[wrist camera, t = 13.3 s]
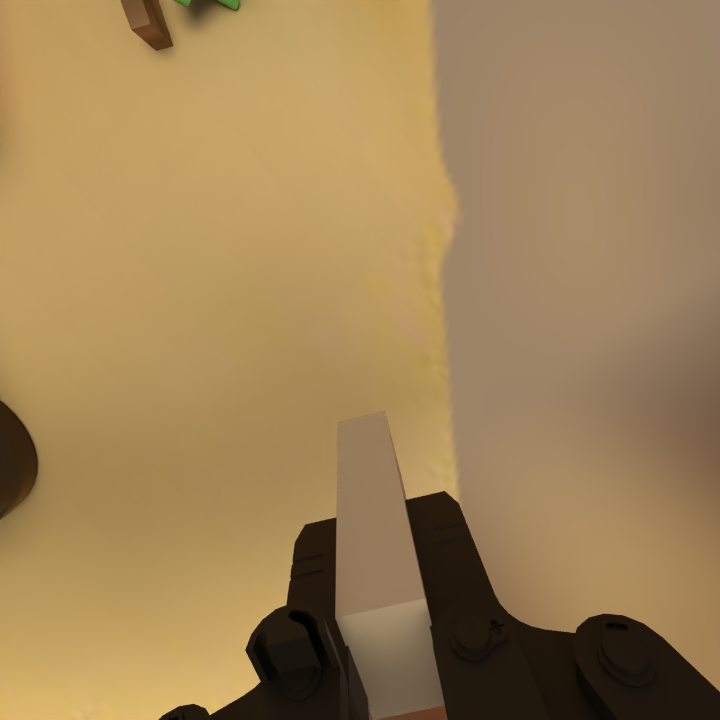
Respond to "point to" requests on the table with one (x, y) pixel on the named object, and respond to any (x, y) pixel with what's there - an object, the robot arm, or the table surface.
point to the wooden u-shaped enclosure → (147, 22)
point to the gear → (228, 0)
